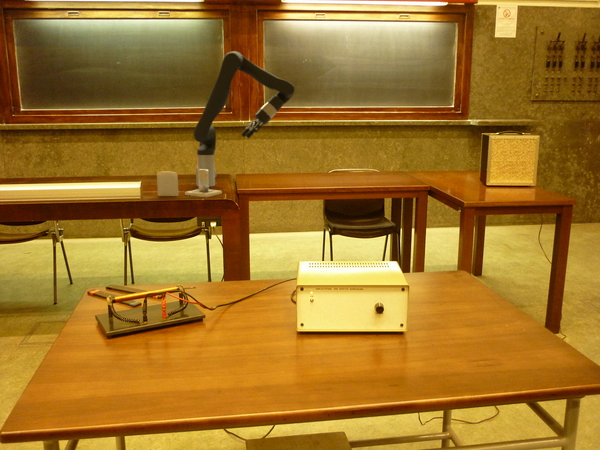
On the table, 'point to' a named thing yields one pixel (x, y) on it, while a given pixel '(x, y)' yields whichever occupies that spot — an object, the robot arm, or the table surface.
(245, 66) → the robot arm
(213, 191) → the board
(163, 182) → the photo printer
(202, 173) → the canister
